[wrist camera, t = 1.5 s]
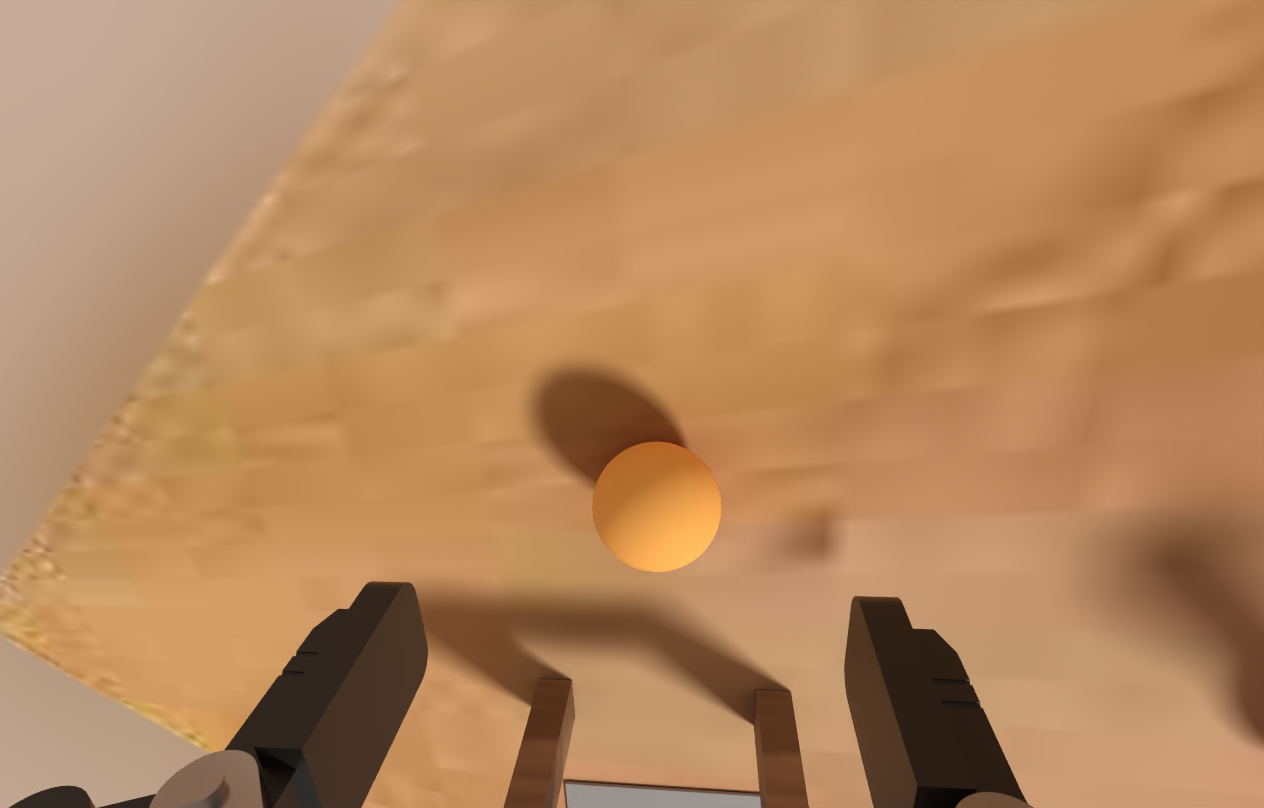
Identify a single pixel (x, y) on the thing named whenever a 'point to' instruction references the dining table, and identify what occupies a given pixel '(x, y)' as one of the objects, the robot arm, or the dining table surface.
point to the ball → (656, 506)
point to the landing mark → (653, 797)
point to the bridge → (552, 729)
